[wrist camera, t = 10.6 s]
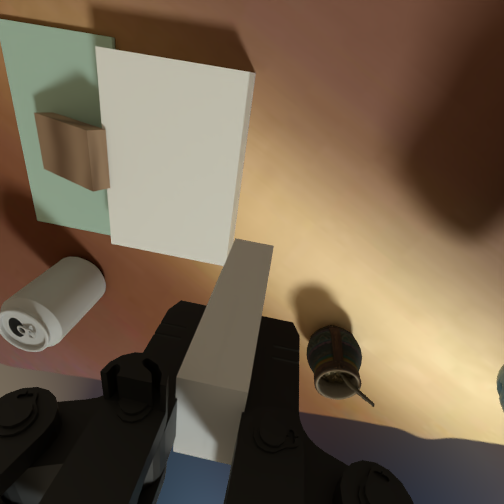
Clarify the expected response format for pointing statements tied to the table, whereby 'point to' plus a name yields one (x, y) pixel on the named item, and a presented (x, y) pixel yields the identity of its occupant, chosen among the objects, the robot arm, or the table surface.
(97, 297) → the can
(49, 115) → the brown wooden slab
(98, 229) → the mat
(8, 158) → the table surface
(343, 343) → the mate gourd
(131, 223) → the white flat block
